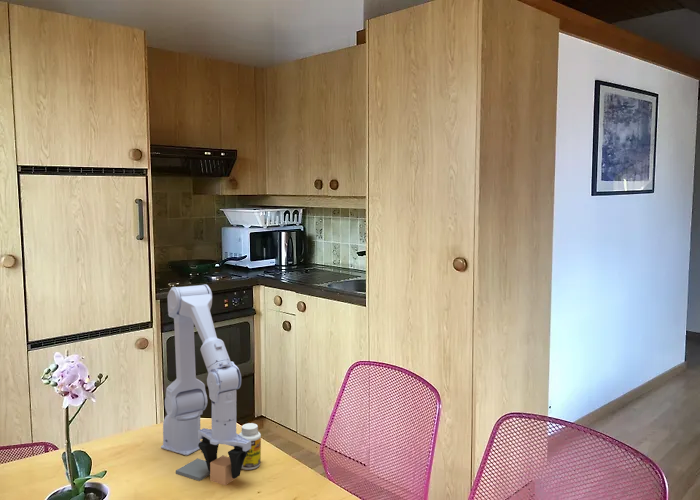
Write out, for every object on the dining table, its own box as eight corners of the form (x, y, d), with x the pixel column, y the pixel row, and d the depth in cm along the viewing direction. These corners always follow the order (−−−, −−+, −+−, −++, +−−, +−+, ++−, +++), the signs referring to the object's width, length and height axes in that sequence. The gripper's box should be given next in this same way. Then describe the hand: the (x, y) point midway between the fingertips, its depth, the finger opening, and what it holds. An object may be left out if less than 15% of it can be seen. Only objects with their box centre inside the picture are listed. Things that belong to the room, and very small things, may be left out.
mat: (175, 473, 139) (175, 470, 139) (197, 461, 145) (197, 458, 145) (199, 481, 135) (199, 477, 135) (220, 468, 142) (220, 465, 142)
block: (210, 480, 136) (210, 462, 135) (222, 473, 140) (222, 455, 139) (225, 485, 134) (225, 467, 133) (237, 477, 138) (237, 459, 137)
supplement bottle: (243, 472, 140) (243, 432, 139) (234, 463, 144) (234, 424, 144) (264, 467, 143) (264, 427, 142) (255, 458, 148) (255, 420, 147)
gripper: (188, 417, 135) (189, 472, 136) (237, 429, 128) (237, 487, 130) (209, 407, 141) (209, 461, 143) (256, 419, 135) (256, 474, 136)
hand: (224, 473), depth 136 cm, fingers open, 7 cm apart
